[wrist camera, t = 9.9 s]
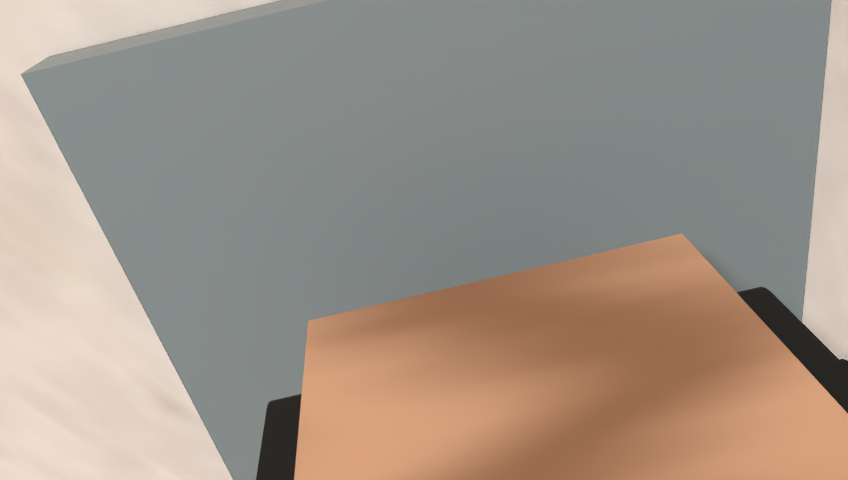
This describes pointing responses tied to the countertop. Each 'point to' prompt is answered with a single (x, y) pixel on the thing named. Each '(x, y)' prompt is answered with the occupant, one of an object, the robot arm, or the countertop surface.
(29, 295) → the countertop surface
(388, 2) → the board
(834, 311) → the countertop surface
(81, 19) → the countertop surface
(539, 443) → the lettered block
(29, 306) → the countertop surface
